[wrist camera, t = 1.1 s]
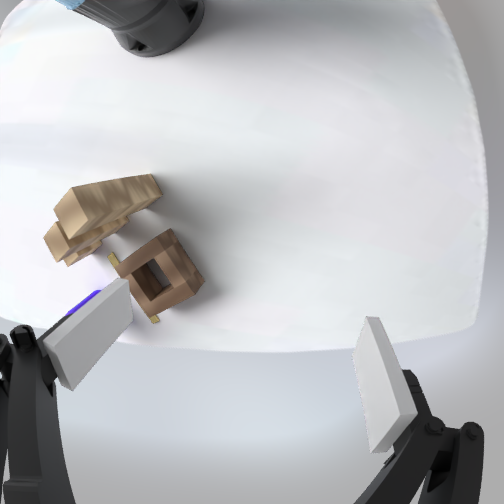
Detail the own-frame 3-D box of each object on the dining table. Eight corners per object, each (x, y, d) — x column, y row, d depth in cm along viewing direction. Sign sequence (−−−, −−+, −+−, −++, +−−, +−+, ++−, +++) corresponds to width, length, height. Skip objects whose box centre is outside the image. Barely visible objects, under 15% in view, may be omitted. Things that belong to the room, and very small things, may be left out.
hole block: (129, 257, 45) (114, 267, 40) (170, 228, 42) (156, 236, 37) (161, 303, 47) (149, 318, 42) (204, 280, 44) (194, 294, 39)
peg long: (133, 188, 41) (53, 209, 24) (150, 173, 40) (71, 187, 23) (145, 208, 42) (69, 239, 25) (163, 194, 41) (88, 219, 24)
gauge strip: (108, 256, 46) (107, 256, 45) (113, 252, 45) (111, 253, 45) (154, 322, 49) (153, 323, 48) (159, 320, 48) (158, 321, 48)
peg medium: (103, 214, 43) (43, 237, 29) (117, 201, 42) (55, 222, 28) (114, 233, 44) (56, 262, 30) (129, 221, 43) (69, 248, 29)
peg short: (80, 236, 45) (56, 247, 39) (91, 225, 44) (66, 236, 38) (91, 253, 46) (67, 266, 40) (102, 243, 45) (78, 256, 39)
